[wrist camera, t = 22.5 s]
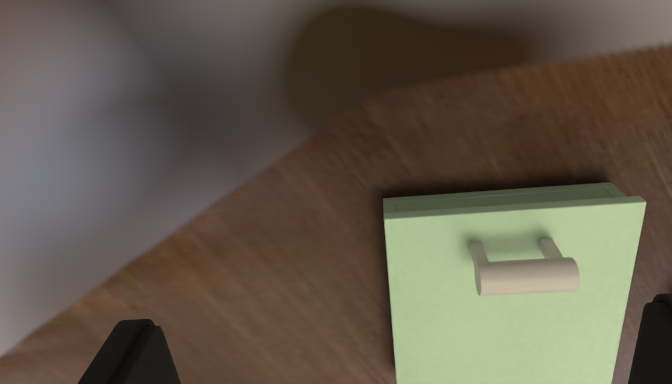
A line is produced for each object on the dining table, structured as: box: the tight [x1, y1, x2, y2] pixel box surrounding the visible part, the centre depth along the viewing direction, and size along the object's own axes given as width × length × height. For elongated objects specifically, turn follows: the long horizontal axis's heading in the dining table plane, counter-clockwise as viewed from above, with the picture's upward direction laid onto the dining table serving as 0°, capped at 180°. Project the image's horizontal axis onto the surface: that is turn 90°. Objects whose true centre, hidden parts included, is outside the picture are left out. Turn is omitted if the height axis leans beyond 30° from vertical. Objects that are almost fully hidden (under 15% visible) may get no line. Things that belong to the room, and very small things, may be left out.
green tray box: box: [383, 182, 626, 213], centre depth 34 cm, size 16×15×3 cm
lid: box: [384, 196, 646, 384], centre depth 31 cm, size 16×15×5 cm
